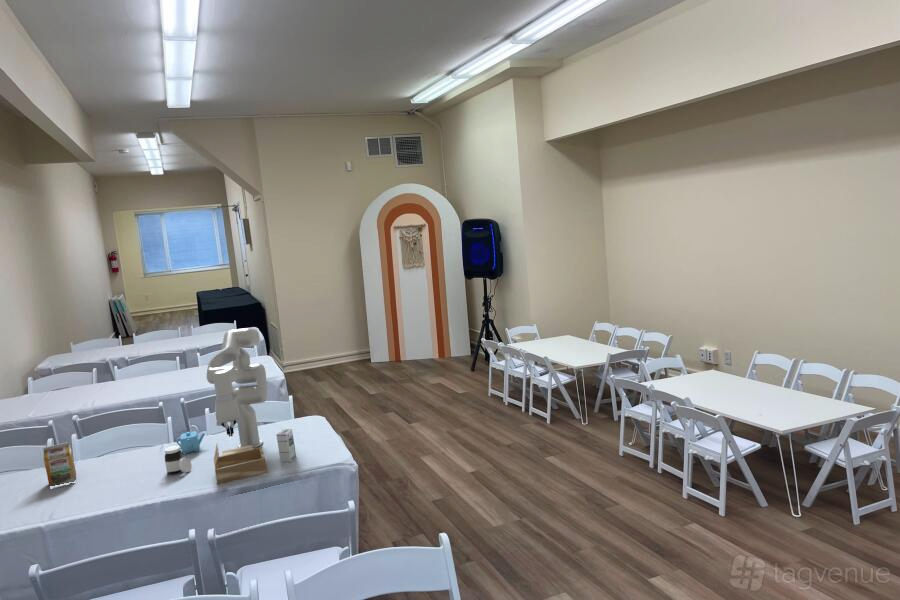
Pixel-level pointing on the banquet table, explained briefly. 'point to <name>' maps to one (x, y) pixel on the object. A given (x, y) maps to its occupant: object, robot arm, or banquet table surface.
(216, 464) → the flap
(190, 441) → the teapot
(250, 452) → the wooden square tray
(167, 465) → the spread jar
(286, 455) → the syrup box
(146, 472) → the banquet table surface
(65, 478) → the yellow food package
